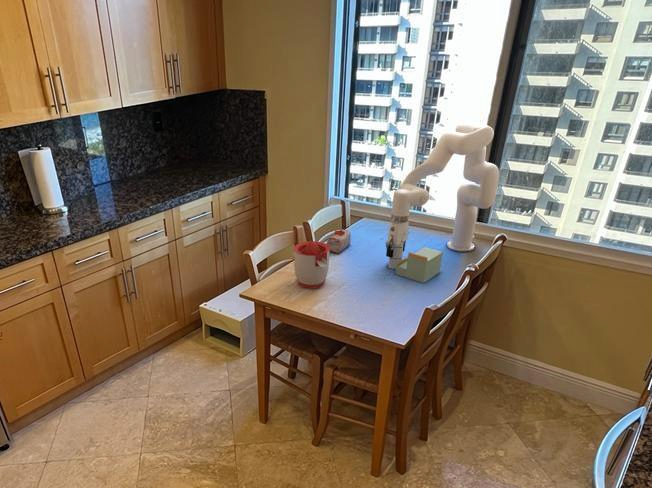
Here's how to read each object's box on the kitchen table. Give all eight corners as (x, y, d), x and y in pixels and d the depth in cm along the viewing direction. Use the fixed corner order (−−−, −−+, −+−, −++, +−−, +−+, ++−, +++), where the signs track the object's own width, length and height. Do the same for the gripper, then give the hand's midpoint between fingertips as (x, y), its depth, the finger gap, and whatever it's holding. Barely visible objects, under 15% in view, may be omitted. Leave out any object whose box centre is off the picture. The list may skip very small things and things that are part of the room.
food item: (339, 255, 254) (340, 236, 248) (325, 252, 258) (325, 233, 252) (351, 245, 263) (352, 227, 258) (337, 243, 267) (338, 225, 262)
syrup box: (401, 268, 237) (404, 239, 229) (388, 268, 238) (391, 239, 230) (400, 263, 242) (404, 234, 234) (387, 263, 243) (390, 234, 235)
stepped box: (411, 264, 241) (415, 240, 234) (439, 272, 232) (443, 247, 226) (395, 274, 233) (398, 249, 226) (423, 282, 224) (427, 257, 218)
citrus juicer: (308, 296, 219) (309, 252, 208) (287, 280, 232) (286, 239, 222) (338, 286, 225) (340, 244, 214) (315, 272, 238) (316, 231, 227)
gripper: (396, 225, 220) (391, 261, 229) (417, 214, 230) (412, 250, 239) (381, 221, 225) (377, 257, 234) (402, 211, 235) (398, 246, 244)
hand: (395, 253), depth 236 cm, fingers open, 9 cm apart
